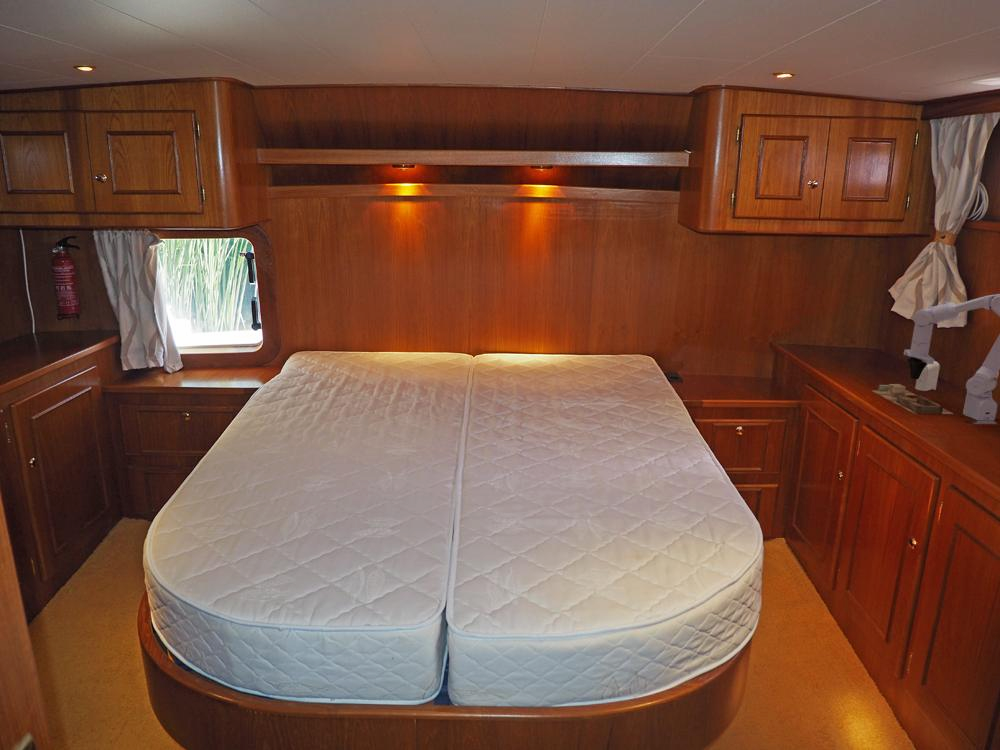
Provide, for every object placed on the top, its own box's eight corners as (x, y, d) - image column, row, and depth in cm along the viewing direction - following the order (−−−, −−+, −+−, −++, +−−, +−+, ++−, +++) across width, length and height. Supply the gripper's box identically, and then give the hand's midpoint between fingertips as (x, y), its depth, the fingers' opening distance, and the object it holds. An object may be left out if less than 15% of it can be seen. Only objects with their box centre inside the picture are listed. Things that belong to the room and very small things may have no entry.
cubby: (941, 413, 246) (943, 406, 245) (917, 413, 246) (919, 406, 245) (919, 402, 258) (920, 395, 258) (896, 402, 258) (897, 395, 257)
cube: (904, 397, 264) (905, 387, 263) (893, 397, 264) (895, 387, 263) (897, 394, 268) (899, 384, 267) (887, 394, 268) (889, 384, 267)
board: (953, 417, 246) (955, 407, 245) (913, 417, 246) (915, 407, 245) (906, 394, 273) (907, 385, 272) (870, 394, 273) (871, 384, 272)
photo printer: (924, 395, 272) (929, 364, 269) (912, 392, 276) (918, 361, 273) (937, 391, 278) (942, 360, 275) (925, 388, 282) (931, 358, 278)
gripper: (898, 337, 262) (892, 373, 265) (922, 346, 248) (916, 384, 251) (916, 337, 262) (910, 373, 266) (942, 346, 248) (935, 384, 252)
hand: (914, 378), depth 259 cm, fingers closed
